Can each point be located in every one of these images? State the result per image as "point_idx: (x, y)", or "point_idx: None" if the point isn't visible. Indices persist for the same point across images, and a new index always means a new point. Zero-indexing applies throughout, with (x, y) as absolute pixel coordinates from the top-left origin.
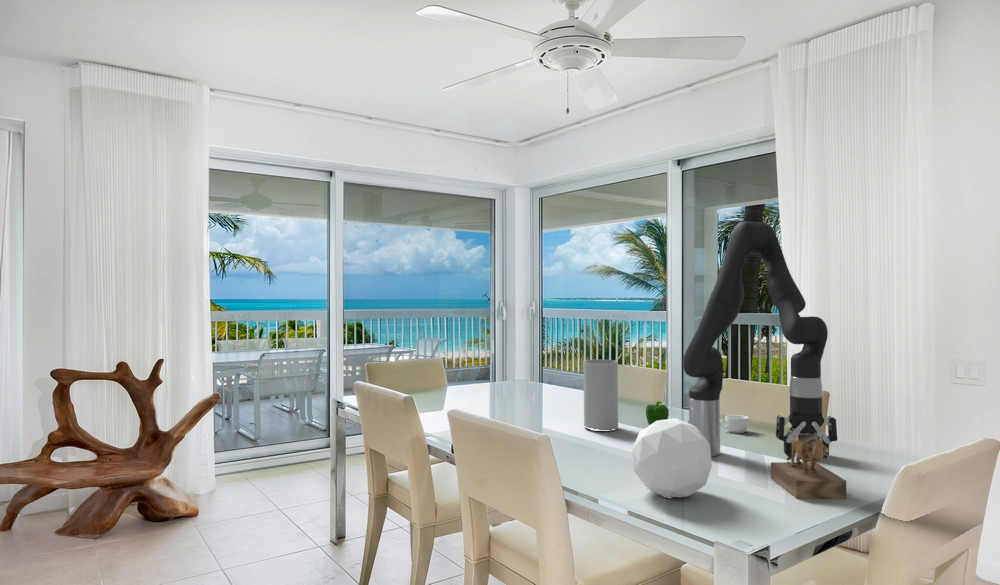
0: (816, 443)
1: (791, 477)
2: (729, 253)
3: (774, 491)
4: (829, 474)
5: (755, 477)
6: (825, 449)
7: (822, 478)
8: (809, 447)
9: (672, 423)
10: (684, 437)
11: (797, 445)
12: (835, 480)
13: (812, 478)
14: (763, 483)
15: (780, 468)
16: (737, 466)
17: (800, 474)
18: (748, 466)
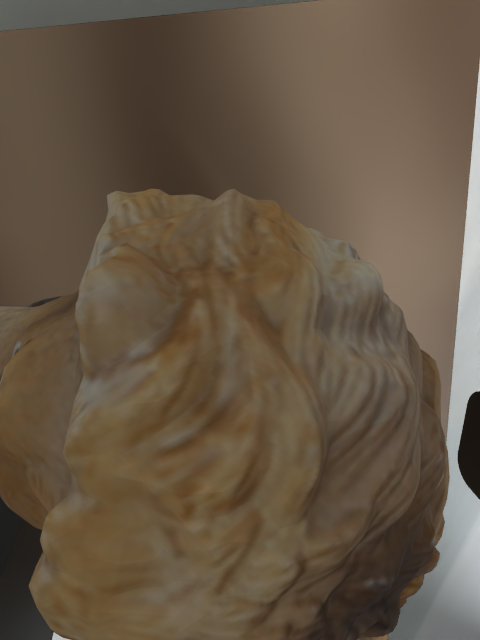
0: (305, 338)
1: (473, 122)
2: None
3: (468, 204)
4: (52, 286)
5: (456, 458)
6: (8, 326)
7: (165, 116)
8: (413, 341)
9: None
10: None
11: (386, 635)
12: (30, 41)
13: (277, 98)
14: (461, 360)
15: (441, 394)
16: (463, 602)
17: (345, 239)
18: (410, 614)
